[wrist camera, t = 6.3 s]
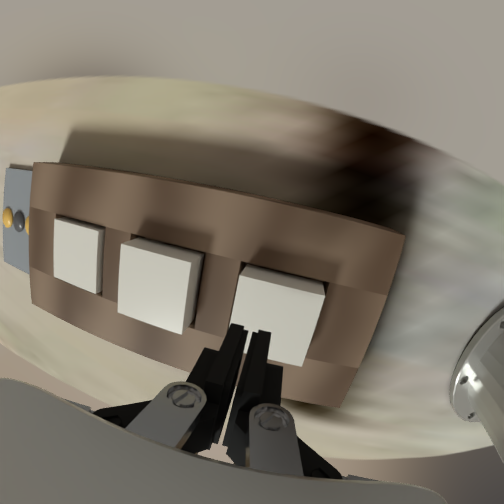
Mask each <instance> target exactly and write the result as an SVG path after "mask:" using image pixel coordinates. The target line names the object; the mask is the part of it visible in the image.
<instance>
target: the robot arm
mask: <svg viewBox="0 0 504 504" xmlns="http://www.w3.org/2000/svg"><path fill="white" fill-rule="evenodd" d="M248 331H249V330H244V326H243V325H239V324H235V323H231V324H230V327H229V329H228V331H227V334H226V336H225V338H224V340H223V343H222V345H221V347H220V349H219V351H217V350H213V349H210V348H206V347H205V348H204V349H203V351H202V352H201V354H200V356H199V358H198V360H197V362H196V364H195V365H194V367H193V369H192V371H191V373H190V375H189V377H188V378H187V380H186V382H181V381H180V382H173V383H170V384H168V385H167V386H165V387H164V388H163V389H162V390H161V391H160V393H159V394H158V395H157V396H156V397H155V398H154V399H153V400H150V401H145V402H139V403H134V404H128V405H122V406H116V407H109V408H103V409H99V410H97V411H92V410H91V408H90V407H88V406H85V405H82V404H78V403H75V402H72V401H69V400H66V399H63V398H60V397H58V396H56V395H54V394H53V393H50V392H48V391H46V390H43V389H41V388H39V387H37V386H34V385H31V384H29V383H26V382H22V381H18V380H15V379H9V378H0V504H447V502H446V501H445V499H444V498H443V497H442V496H441V495H439V494H438V493H436V492H434V491H432V490H430V489H427V488H424V487H419V486H415V485H411V484H405V483H398V482H385V481H378V480H372V479H368V478H363V477H358V476H353V475H348V476H347V477H344V476H341V474H340V473H339V472H338V471H337V469H335V468H334V467H333V466H332V465H331V464H329V463H328V462H327V461H326V460H324V459H323V458H322V457H321V456H320V455H318V454H317V453H316V452H315V451H314V450H312V449H311V448H310V447H309V446H308V445H307V444H305V443H304V442H303V441H302V440H301V439H300V438H299V437H297V435H296V429H295V423H294V419H293V417H292V415H291V414H290V412H289V411H288V410H286V409H285V408H283V407H281V406H280V403H281V391H282V379H283V366H279V365H275V364H270V363H267V359H268V352H269V346H270V340H271V333H272V332H268V331H263V330H258V333H257V332H252V336H251V339H250V343H249V347H248V350H247V354H246V357H245V361H244V364H243V368H242V371H241V375H240V378H239V382H238V385H237V389H236V393H235V397H234V401H233V405H232V409H231V413H230V417H229V421H228V425H227V429H226V433H225V436H224V440H223V444H222V445H223V446H227V447H228V449H227V452H226V454H227V455H228V456H229V457H230V458H231V460H232V461H233V462H234V464H230V463H226V462H222V461H218V460H214V459H211V458H207V457H203V456H200V455H198V452H201V451H203V450H206V449H208V450H210V448H211V444H212V443H216V444H218V441H219V438H220V435H221V432H222V429H223V425H224V422H225V419H226V416H227V412H228V409H229V406H230V402H231V399H232V396H233V392H234V389H235V386H236V382H237V378H238V374H239V369H240V365H241V361H242V357H243V353H244V348H245V344H246V340H247V335H248ZM449 395H450V402H451V405H452V407H453V409H454V411H455V413H456V414H457V415H458V417H460V418H461V419H463V420H464V421H468V422H480V421H481V423H482V425H483V426H484V428H485V430H486V432H487V433H488V435H489V437H490V439H491V441H492V442H493V444H494V446H495V448H496V450H497V451H498V454H499V456H500V457H501V459H502V461H503V463H504V307H503V308H502V309H501V310H499V311H498V312H497V313H495V314H494V315H493V316H492V317H491V318H490V319H489V320H488V321H487V322H486V323H485V324H484V325H483V326H482V327H481V329H480V330H479V331H478V332H477V333H476V334H475V336H474V337H473V339H472V340H471V341H470V343H469V344H468V346H467V347H466V349H465V350H464V352H463V354H462V356H461V358H460V359H459V361H458V364H457V366H456V368H455V371H454V373H453V377H452V380H451V384H450V393H449Z"/></svg>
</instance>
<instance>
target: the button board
mask: <svg viewBox="0 0 504 504" xmlns="http://www.w3.org/2000/svg"><path fill="white" fill-rule="evenodd" d="M62 217H71V218H74V219H78V220H82V221H86V222H90V223H93V224H97V225H101V226H105V227H106V230H105V243H104V260H103V290H102V291H101V292H99V293H97V294H94V293H92V292H89V291H87V290H84V289H82V288H80V287H77V286H75V285H72V284H70V283H68V282H65V281H63V280H61V279H58V278H56V277H54V220H55V219H57V218H62ZM138 237H142V238H146V239H149V240H153V241H157V242H161V243H165V244H169V245H173V246H177V247H181V248H185V249H189V250H193V251H197V252H201V253H204V258H203V264H202V271H201V277H200V283H199V290H198V297H197V303H196V310H195V317H194V320H193V321H192V323H191V324H190V325H189V326H188V328H187V329H186V330H185V331H184V333H183V334H182V335H181V334H178V333H175V332H171V331H168V330H166V329H163V328H160V327H157V326H154V325H151V324H148V323H145V322H143V321H140V320H137V319H134V318H132V317H129V316H126V315H124V314H121V313H118V283H119V264H120V250H121V244H122V243H124V242H127V241H130V240H133V239H136V238H138ZM405 237H406V236H405V235H403V234H401V233H399V232H397V231H395V230H393V229H391V228H388V227H384V226H381V225H377V224H374V223H370V222H366V221H363V220H359V219H355V218H351V217H348V216H344V215H340V214H336V213H332V212H328V211H324V210H320V209H316V208H312V207H308V206H304V205H299V204H295V203H291V202H286V201H282V200H278V199H273V198H269V197H264V196H260V195H255V194H250V193H245V192H241V191H236V190H231V189H226V188H221V187H216V186H210V185H205V184H200V183H194V182H189V181H183V180H178V179H172V178H166V177H160V176H154V175H148V174H141V173H135V172H128V171H121V170H114V169H107V168H100V167H92V166H84V165H76V164H67V163H54V162H34V163H33V172H32V181H31V192H30V207H29V272H30V287H31V298H32V304H34V305H36V306H38V307H40V308H41V309H43V310H45V311H47V312H49V313H51V314H53V315H54V316H56V317H58V318H60V319H62V320H64V321H66V322H68V323H70V324H72V325H74V326H76V327H78V328H80V329H82V330H84V331H87V332H89V333H91V334H93V335H95V336H97V337H100V338H102V339H104V340H106V341H109V342H111V343H113V344H116V345H118V346H120V347H123V348H125V349H128V350H130V351H132V352H135V353H137V354H140V355H143V356H145V357H148V358H150V359H153V360H156V361H158V362H161V363H164V364H167V365H170V366H172V367H175V368H178V369H181V370H184V371H187V372H190V373H191V371H192V369H193V367H194V365H195V364H196V362H197V360H198V358H199V356H200V354H201V352H202V351H203V349H204V348H205V347H206V348H210V349H213V350H217V351H219V349H220V347H221V345H222V343H223V340H224V338H225V336H226V334H227V331H228V329H229V325H230V320H231V315H232V310H233V305H234V300H235V295H236V290H237V285H238V280H239V276H240V274H241V272H242V271H243V270H244V268H245V267H246V265H247V264H249V265H253V266H257V267H261V268H265V269H269V270H274V271H278V272H282V273H286V274H290V275H294V276H298V277H303V278H307V279H311V280H315V281H319V282H323V287H324V292H325V298H324V301H323V305H322V308H321V311H320V314H319V317H318V320H317V324H316V327H315V330H314V333H313V336H312V339H311V342H310V345H309V347H308V350H307V353H306V356H305V359H304V362H303V365H302V367H300V366H296V365H291V364H287V363H282V362H278V361H274V360H270V359H267V363H270V364H275V365H279V366H283V379H282V391H281V397H283V398H287V399H292V400H297V401H302V402H307V403H313V404H319V405H324V406H331V407H337V408H340V406H341V404H342V402H343V400H344V398H345V396H346V394H347V392H348V390H349V388H350V386H351V384H352V381H353V379H354V377H355V375H356V373H357V371H358V368H359V366H360V364H361V362H362V359H363V357H364V355H365V353H366V350H367V348H368V345H369V343H370V341H371V338H372V336H373V333H374V331H375V328H376V326H377V323H378V320H379V318H380V315H381V312H382V310H383V307H384V304H385V301H386V299H387V296H388V293H389V290H390V287H391V284H392V281H393V278H394V275H395V272H396V268H397V265H398V262H399V259H400V255H401V252H402V248H403V245H404V241H405ZM245 357H246V353H243V357H242V361H241V365H240V369H239V374H238V378H237V382H236V386H237V385H238V382H239V378H240V375H241V371H242V368H243V364H244V361H245Z"/></svg>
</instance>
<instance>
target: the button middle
mask: <svg viewBox="0 0 504 504" xmlns="http://www.w3.org/2000/svg"><path fill="white" fill-rule="evenodd" d="M203 258H204V253H201V252H197V251H193V250H189V249H185V248H181V247H177V246H173V245H169V244H165V243H161V242H157V241H153V240H149V239H146V238H142V237H138V238H136V239H133V240H130V241H127V242H124V243H122V244H121V250H120V264H119V283H118V313H121V314H124V315H126V316H129V317H132V318H134V319H137V320H140V321H143V322H145V323H148V324H151V325H154V326H157V327H160V328H163V329H166V330H168V331H171V332H175V333H178V334H181V335H182V334H183V333H184V331H185V330H186V329H187V328H188V326H189V325H190V324H191V323H192V321H193V320H194V317H195V310H196V303H197V297H198V290H199V283H200V277H201V271H202V264H203Z"/></svg>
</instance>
